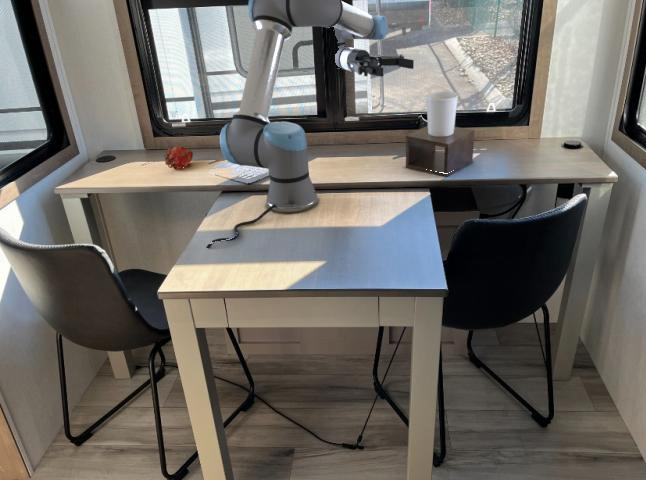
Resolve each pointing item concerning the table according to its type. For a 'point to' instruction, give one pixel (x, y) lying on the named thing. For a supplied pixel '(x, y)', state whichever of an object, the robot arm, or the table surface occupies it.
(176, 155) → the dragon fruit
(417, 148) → the dark brown cubby box
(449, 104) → the candle holder
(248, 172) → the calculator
